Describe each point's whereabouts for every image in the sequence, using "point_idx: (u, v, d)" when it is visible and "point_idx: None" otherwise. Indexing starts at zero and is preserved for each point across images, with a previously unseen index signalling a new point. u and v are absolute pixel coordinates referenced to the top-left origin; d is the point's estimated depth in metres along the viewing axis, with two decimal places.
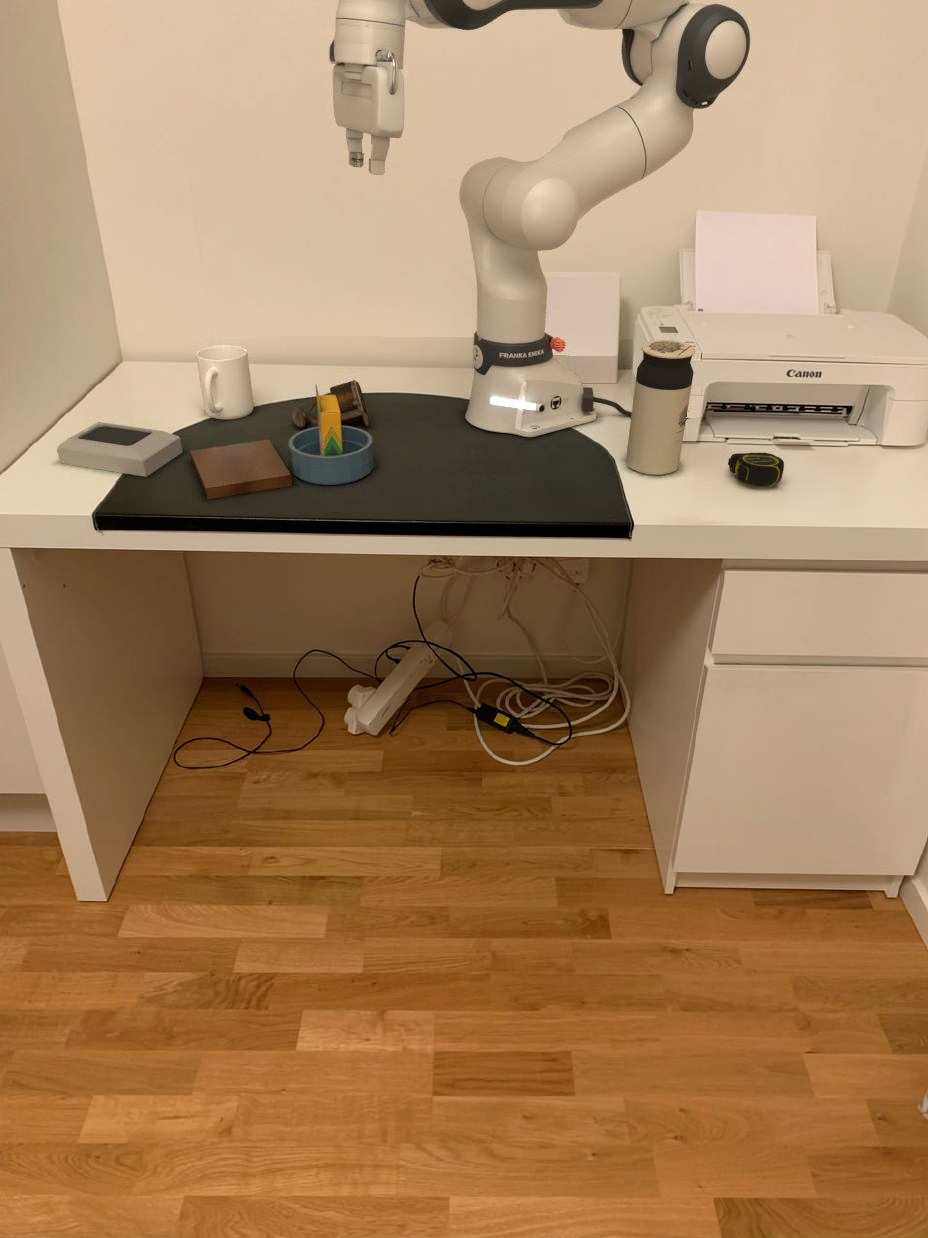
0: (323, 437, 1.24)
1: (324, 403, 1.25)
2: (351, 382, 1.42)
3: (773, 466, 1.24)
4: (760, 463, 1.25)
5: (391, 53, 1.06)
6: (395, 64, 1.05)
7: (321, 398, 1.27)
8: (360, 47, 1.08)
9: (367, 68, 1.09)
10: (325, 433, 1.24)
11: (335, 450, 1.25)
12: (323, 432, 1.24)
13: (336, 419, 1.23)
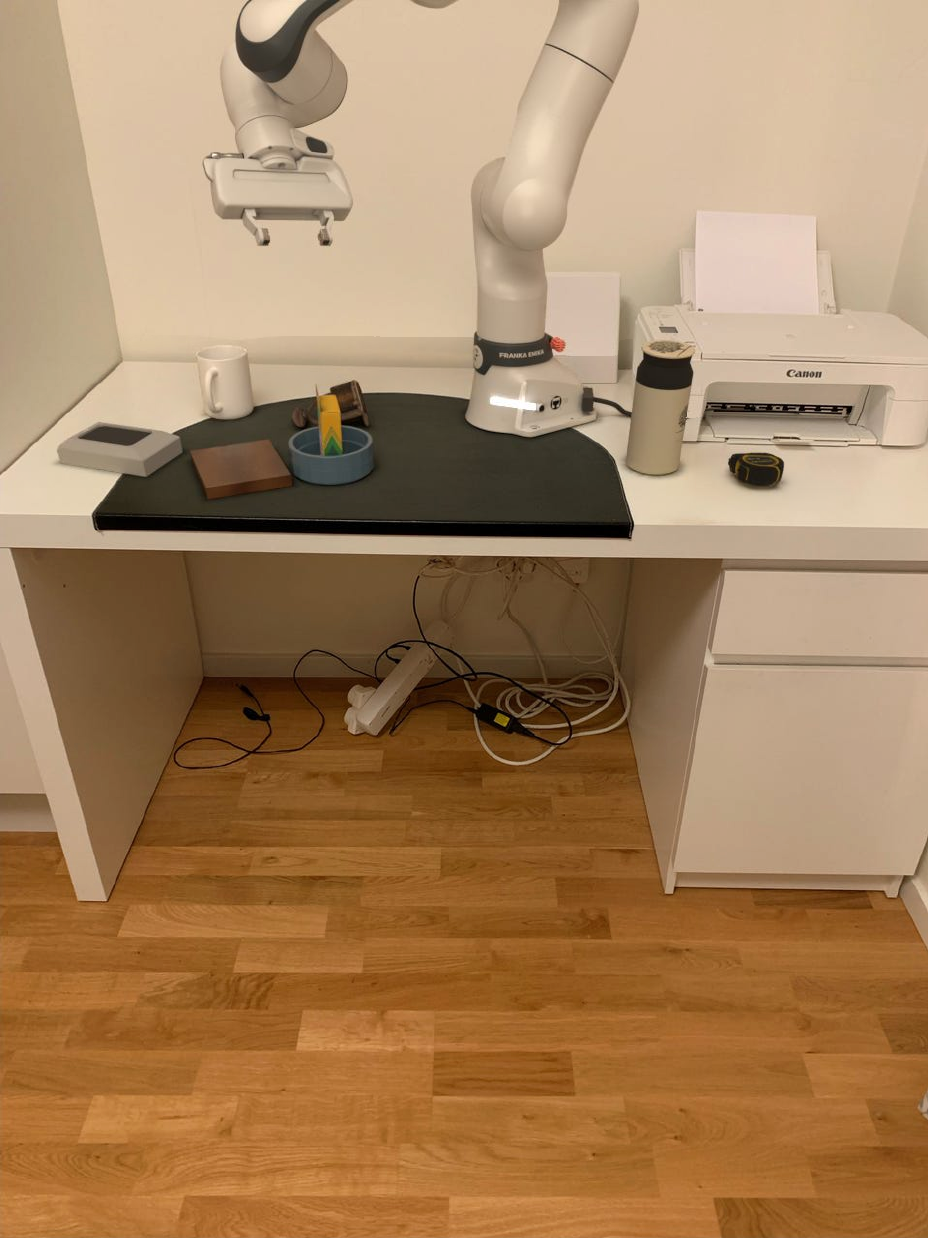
0: (323, 437, 1.24)
1: (324, 403, 1.25)
2: (351, 382, 1.42)
3: (773, 466, 1.24)
4: (760, 463, 1.25)
5: (210, 154, 1.22)
6: (203, 160, 1.21)
7: (321, 398, 1.27)
8: None
9: None
10: (325, 433, 1.24)
11: (335, 449, 1.25)
12: (323, 432, 1.24)
13: (336, 419, 1.23)
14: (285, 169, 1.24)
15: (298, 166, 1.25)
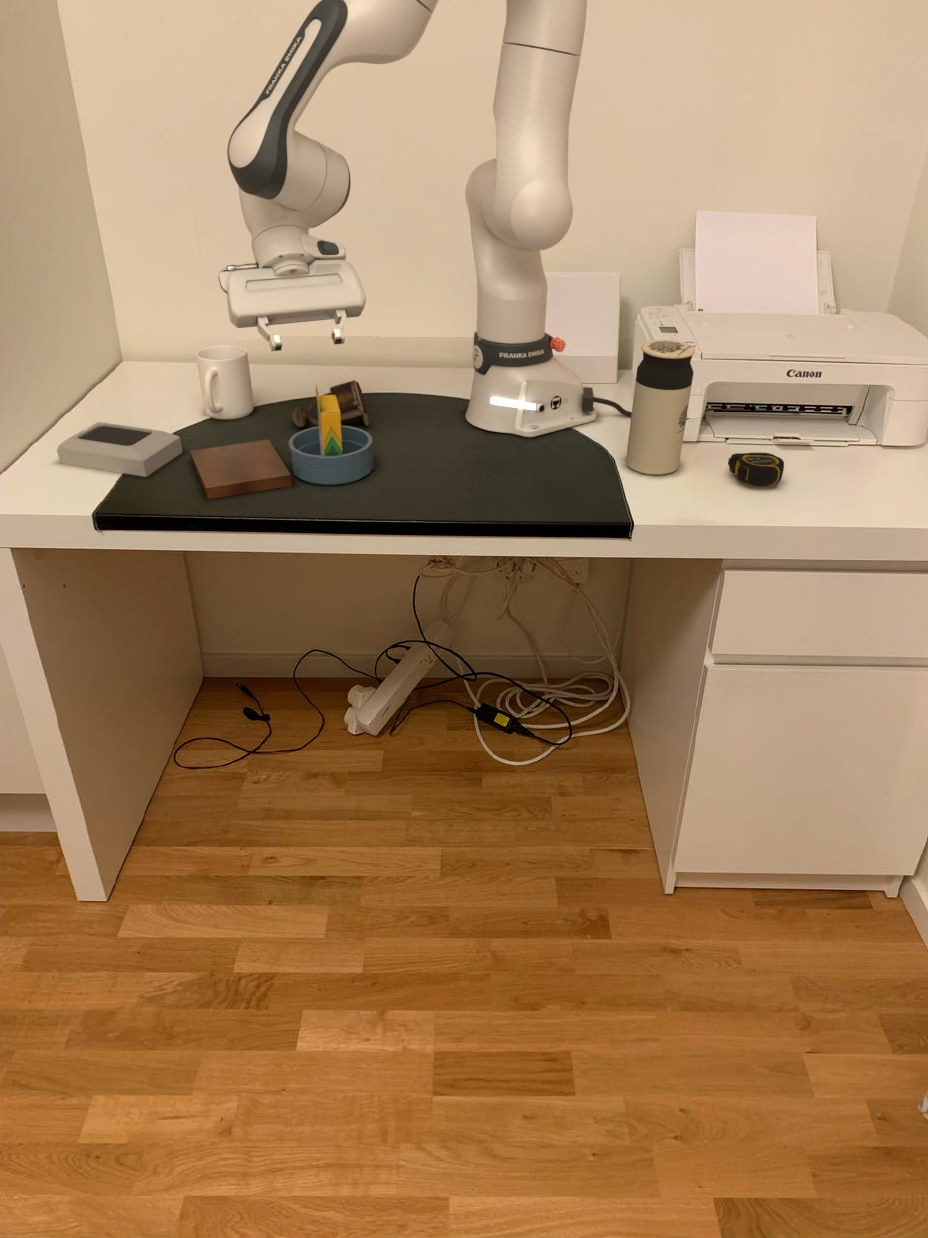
0: (323, 437, 1.24)
1: (324, 403, 1.25)
2: (351, 382, 1.42)
3: (773, 466, 1.24)
4: (760, 463, 1.25)
5: (226, 267, 1.27)
6: (219, 274, 1.26)
7: (321, 398, 1.27)
8: None
9: None
10: (325, 433, 1.24)
11: (335, 449, 1.25)
12: (323, 432, 1.24)
13: (336, 419, 1.23)
14: (297, 274, 1.28)
15: (310, 270, 1.29)
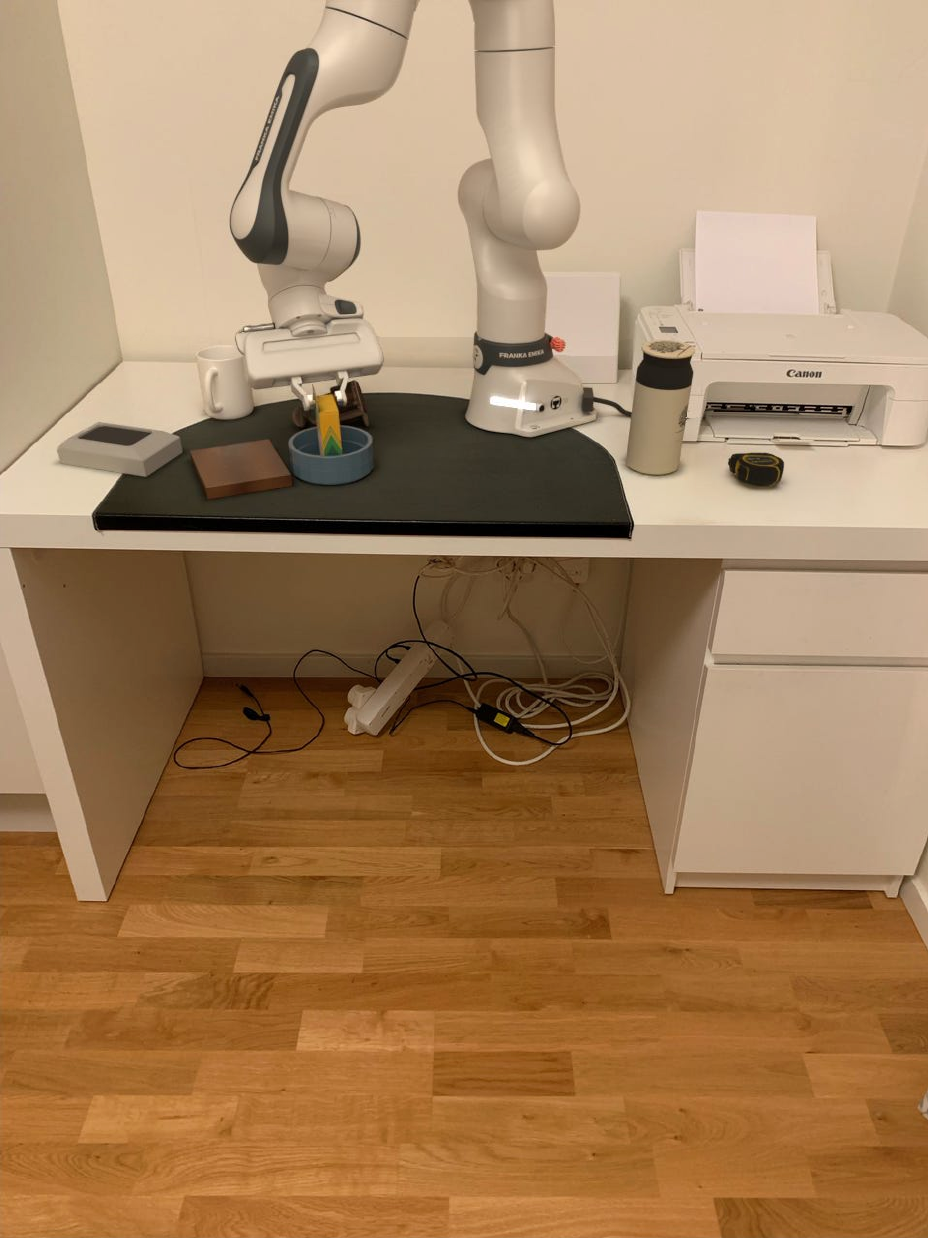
0: (322, 437, 1.24)
1: (322, 403, 1.25)
2: (351, 382, 1.42)
3: (773, 466, 1.24)
4: (760, 463, 1.25)
5: None
6: (235, 335, 1.24)
7: (318, 398, 1.27)
8: None
9: None
10: (324, 433, 1.24)
11: (335, 449, 1.25)
12: (322, 432, 1.24)
13: (334, 419, 1.23)
14: (315, 334, 1.26)
15: (328, 329, 1.27)
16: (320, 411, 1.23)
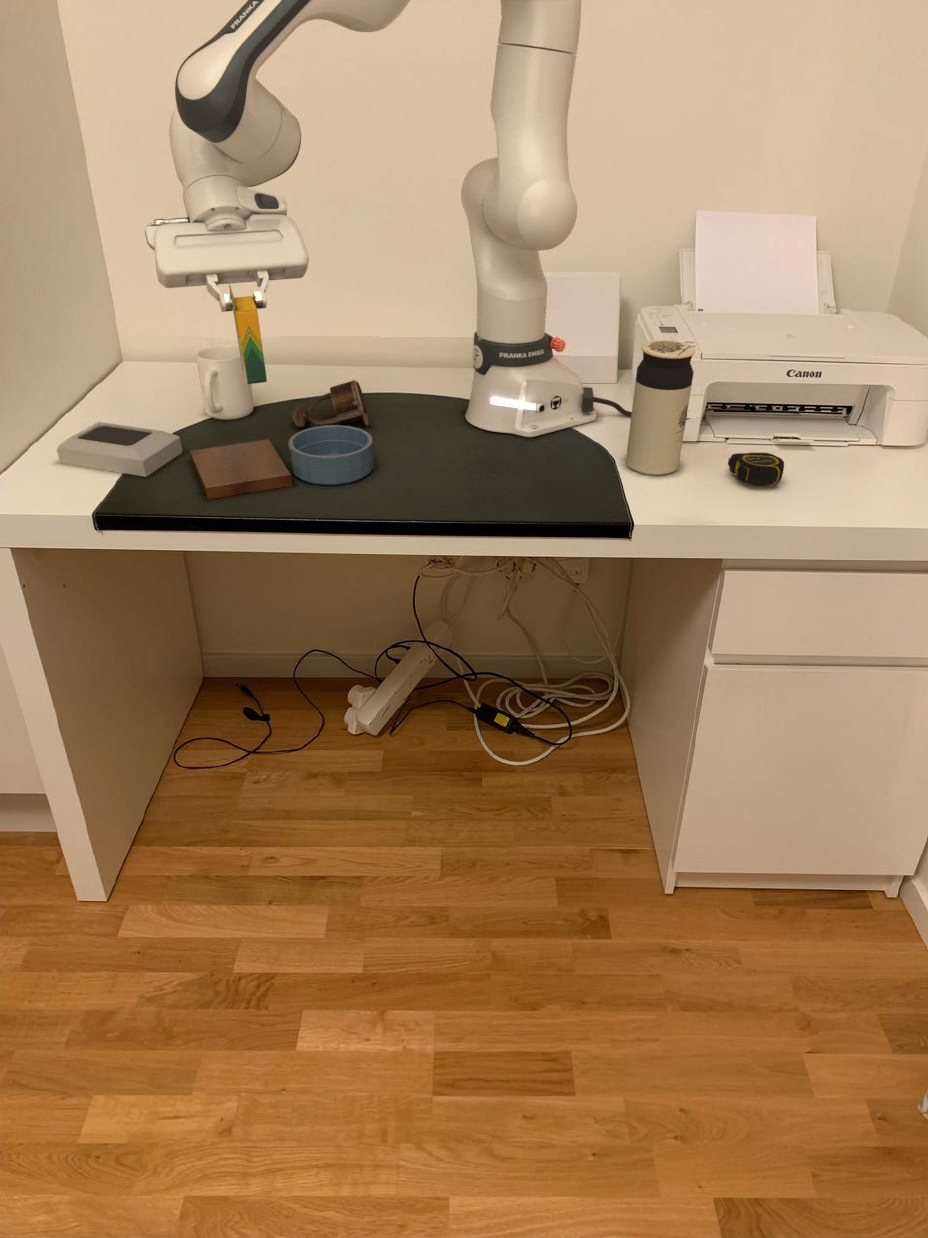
0: (241, 339, 1.15)
1: (239, 303, 1.16)
2: (351, 382, 1.42)
3: (773, 466, 1.24)
4: (760, 463, 1.25)
5: (154, 221, 1.16)
6: None
7: (236, 299, 1.18)
8: None
9: None
10: (242, 334, 1.14)
11: (255, 353, 1.16)
12: (240, 333, 1.14)
13: (253, 318, 1.14)
14: (233, 230, 1.17)
15: (247, 225, 1.18)
16: (237, 310, 1.13)
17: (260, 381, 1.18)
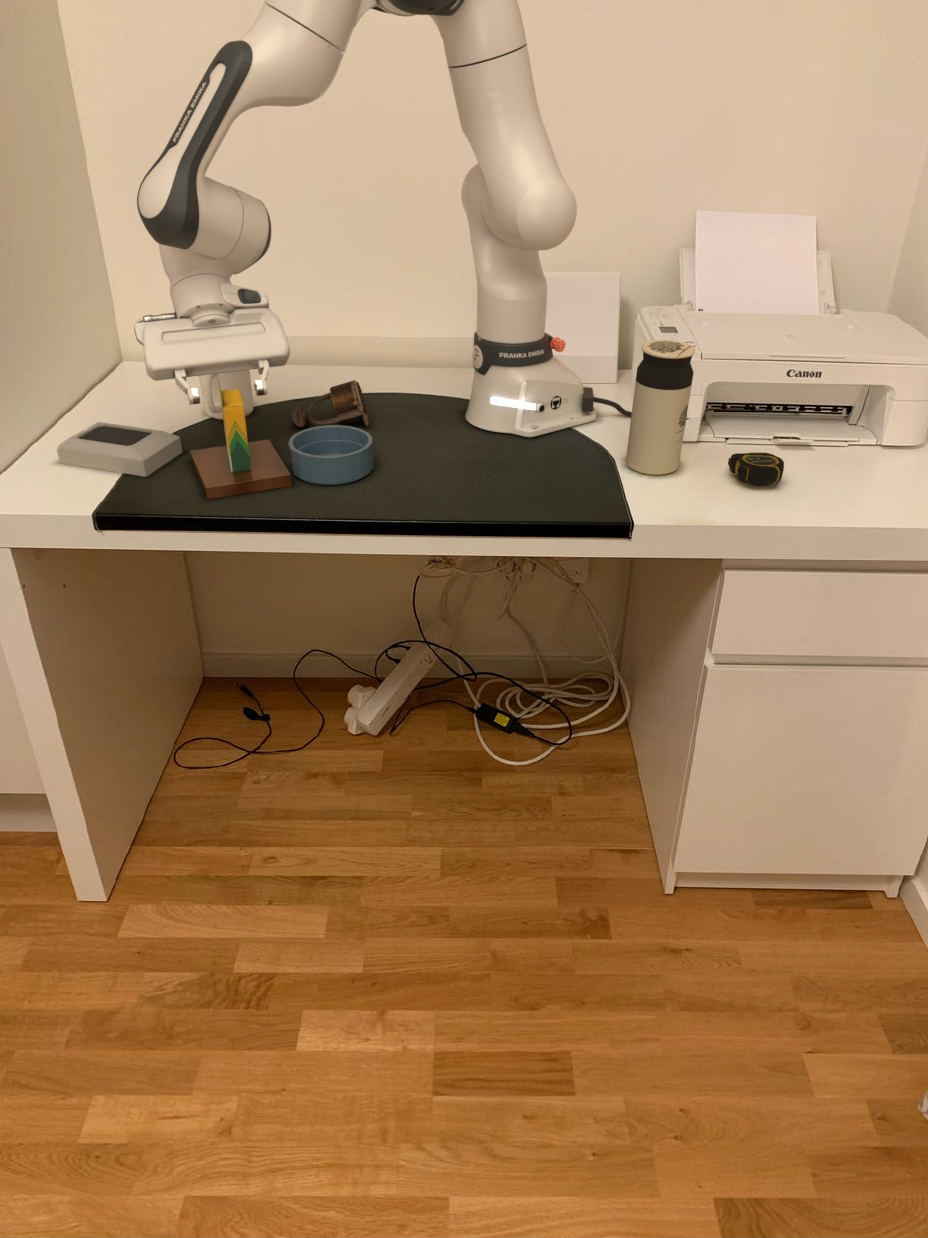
0: (227, 432, 1.21)
1: (227, 397, 1.23)
2: (351, 382, 1.42)
3: (773, 466, 1.24)
4: (760, 463, 1.25)
5: None
6: (134, 325, 1.22)
7: (224, 393, 1.24)
8: None
9: None
10: (229, 428, 1.21)
11: (241, 445, 1.23)
12: (227, 427, 1.21)
13: (239, 414, 1.21)
14: (217, 324, 1.23)
15: (231, 319, 1.24)
16: (224, 405, 1.20)
17: (245, 470, 1.25)
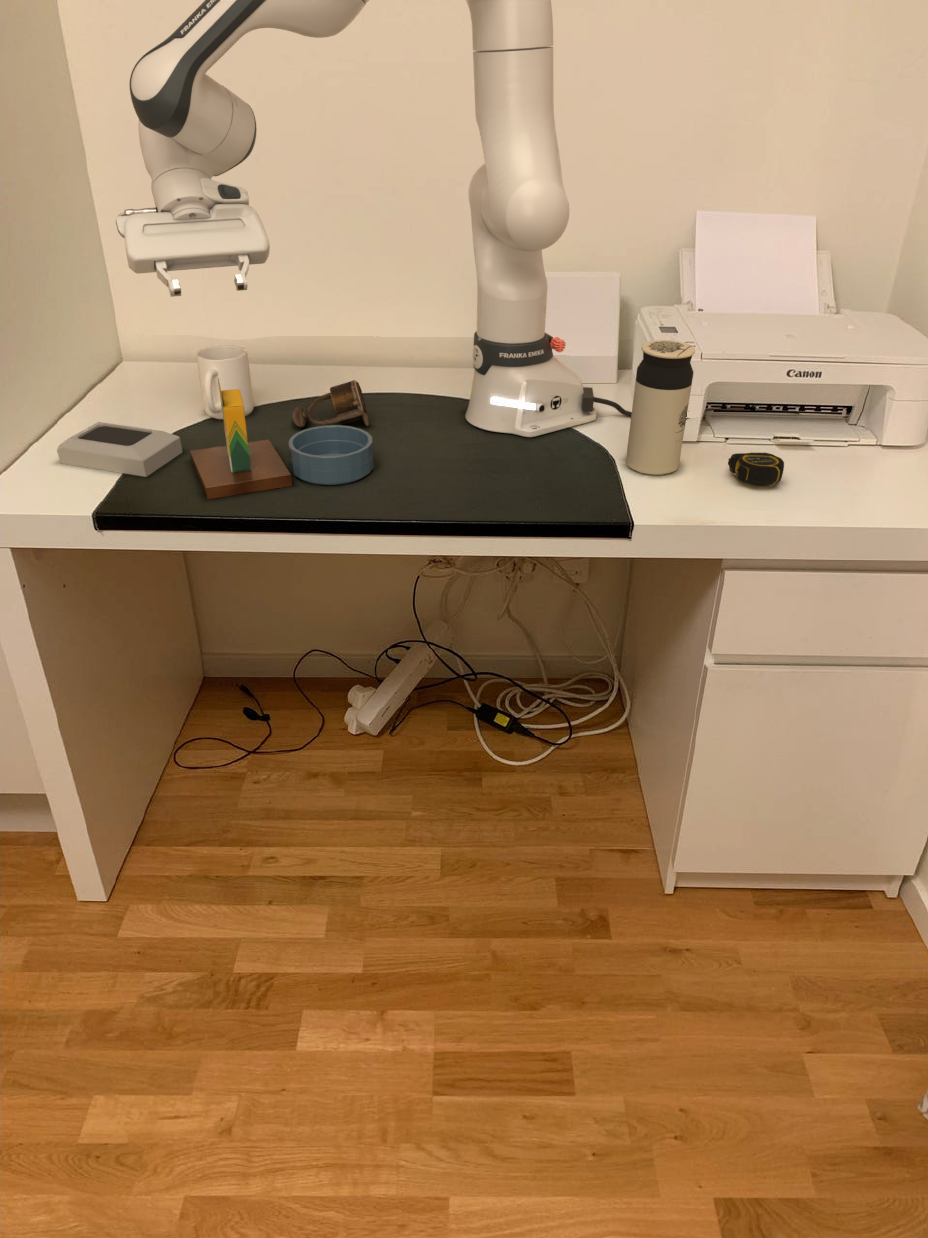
0: (227, 432, 1.21)
1: (227, 397, 1.23)
2: (351, 382, 1.42)
3: (773, 466, 1.24)
4: (760, 463, 1.25)
5: (124, 211, 1.25)
6: (116, 218, 1.24)
7: (224, 393, 1.24)
8: None
9: None
10: (229, 428, 1.21)
11: (241, 445, 1.23)
12: (227, 427, 1.21)
13: (239, 414, 1.21)
14: (198, 219, 1.26)
15: (211, 214, 1.26)
16: (224, 405, 1.20)
17: (245, 470, 1.25)
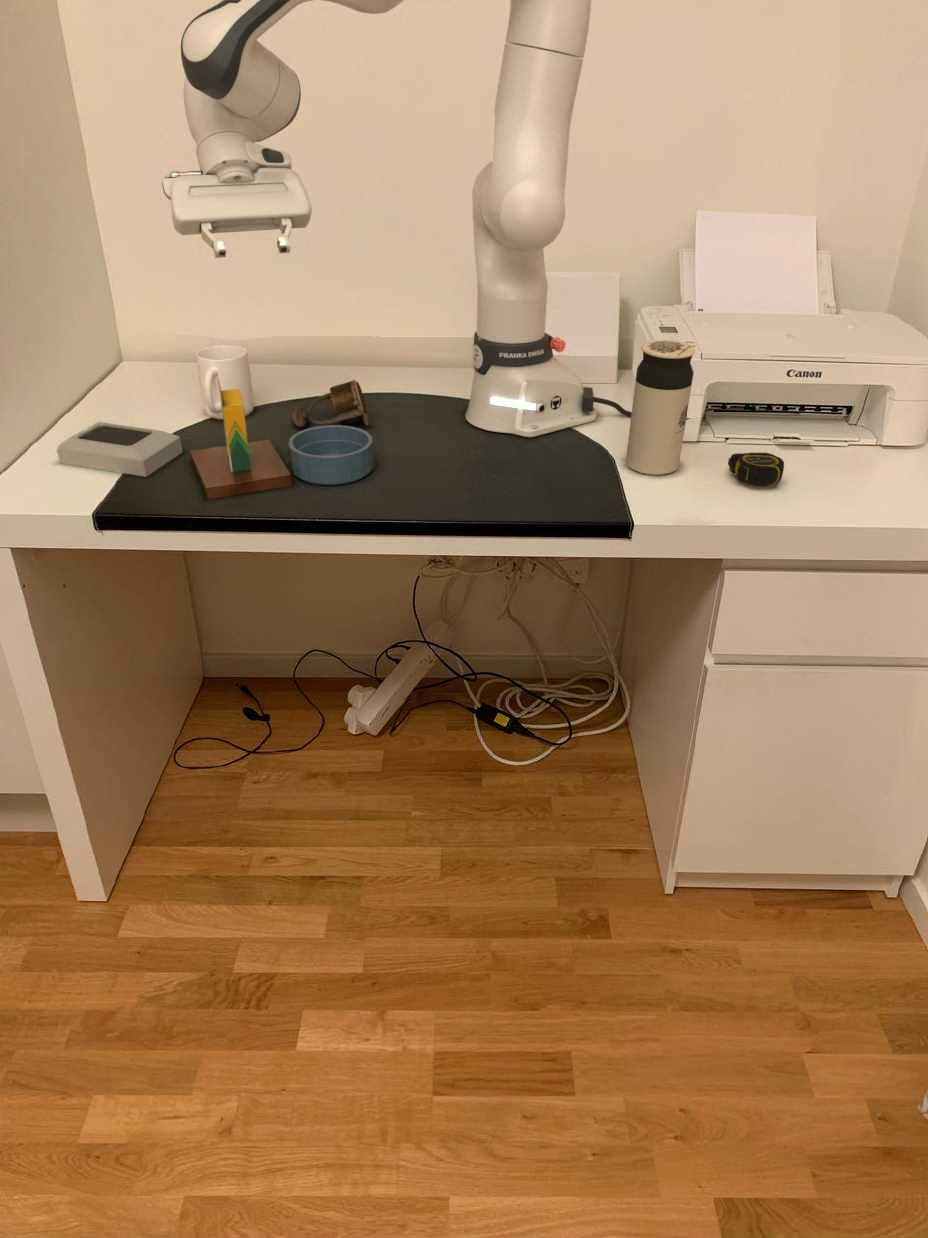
0: (227, 432, 1.21)
1: (227, 397, 1.23)
2: (351, 382, 1.42)
3: (773, 466, 1.24)
4: (760, 463, 1.25)
5: (170, 174, 1.27)
6: None
7: (224, 393, 1.24)
8: None
9: None
10: (229, 428, 1.21)
11: (241, 445, 1.23)
12: (227, 427, 1.21)
13: (239, 414, 1.21)
14: (242, 182, 1.28)
15: (255, 178, 1.29)
16: (225, 405, 1.20)
17: (245, 470, 1.25)
